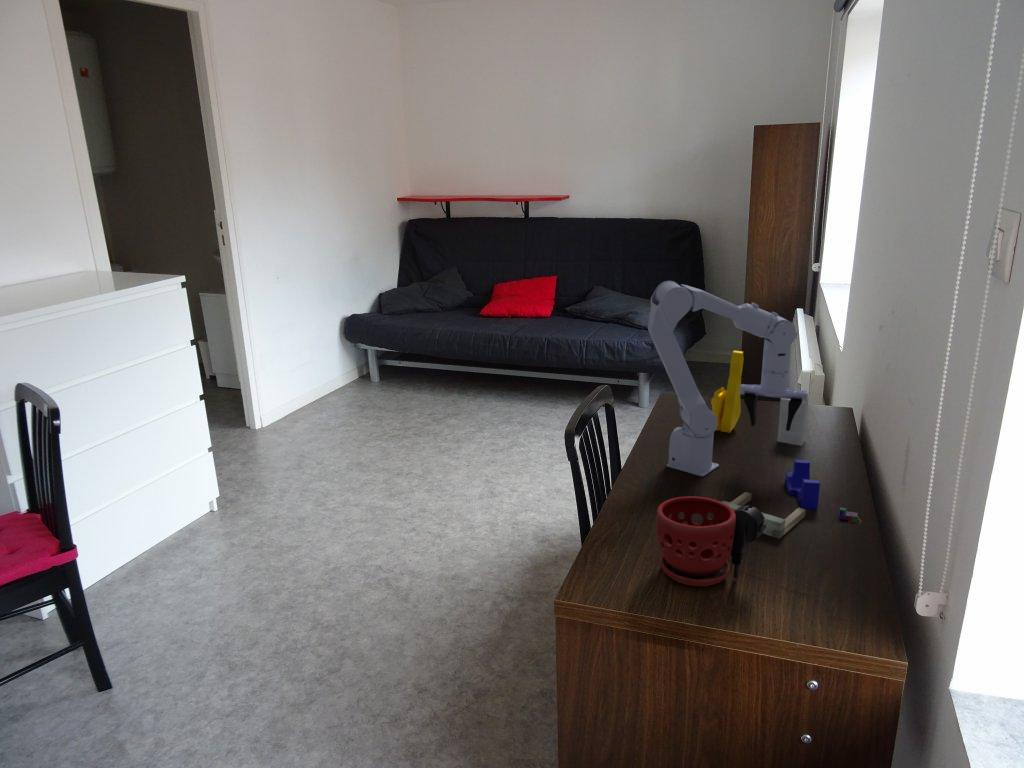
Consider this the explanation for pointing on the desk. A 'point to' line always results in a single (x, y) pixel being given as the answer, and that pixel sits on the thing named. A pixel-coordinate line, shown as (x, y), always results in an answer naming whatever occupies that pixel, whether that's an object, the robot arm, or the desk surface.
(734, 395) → the figure statuette
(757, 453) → the desk surface
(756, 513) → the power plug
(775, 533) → the channel
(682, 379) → the robot arm
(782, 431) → the skincare box
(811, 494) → the cable clip
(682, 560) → the plant pot
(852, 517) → the multicolored checkered block
